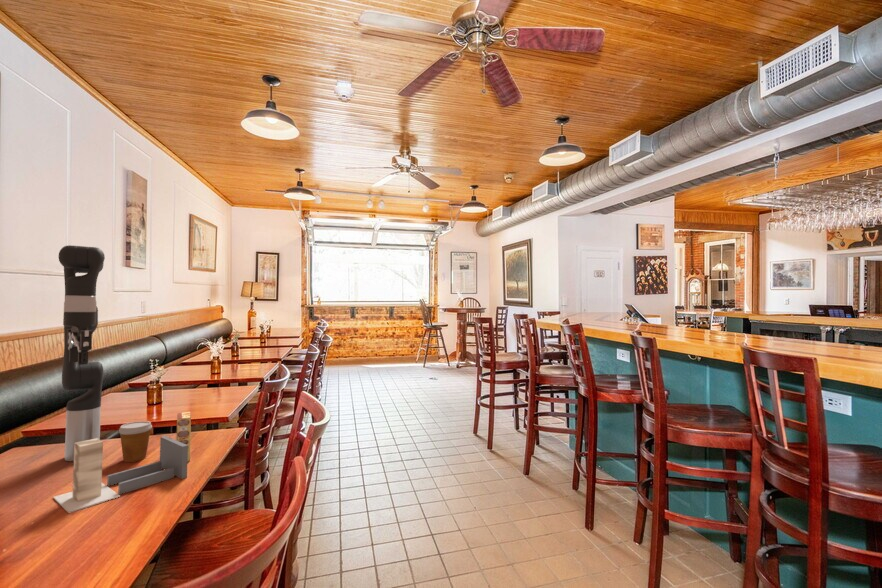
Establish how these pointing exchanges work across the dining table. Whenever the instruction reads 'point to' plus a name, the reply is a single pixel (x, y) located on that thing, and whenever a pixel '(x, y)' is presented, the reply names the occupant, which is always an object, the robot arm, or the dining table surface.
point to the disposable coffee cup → (135, 440)
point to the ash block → (87, 469)
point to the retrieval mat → (73, 505)
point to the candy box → (184, 430)
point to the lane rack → (154, 468)
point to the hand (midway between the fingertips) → (78, 363)
